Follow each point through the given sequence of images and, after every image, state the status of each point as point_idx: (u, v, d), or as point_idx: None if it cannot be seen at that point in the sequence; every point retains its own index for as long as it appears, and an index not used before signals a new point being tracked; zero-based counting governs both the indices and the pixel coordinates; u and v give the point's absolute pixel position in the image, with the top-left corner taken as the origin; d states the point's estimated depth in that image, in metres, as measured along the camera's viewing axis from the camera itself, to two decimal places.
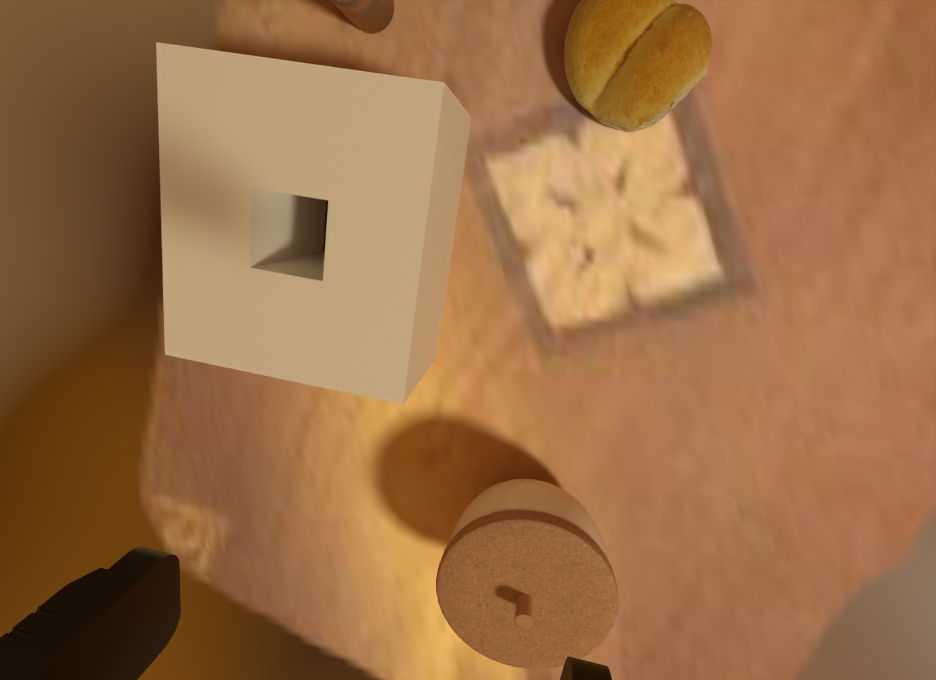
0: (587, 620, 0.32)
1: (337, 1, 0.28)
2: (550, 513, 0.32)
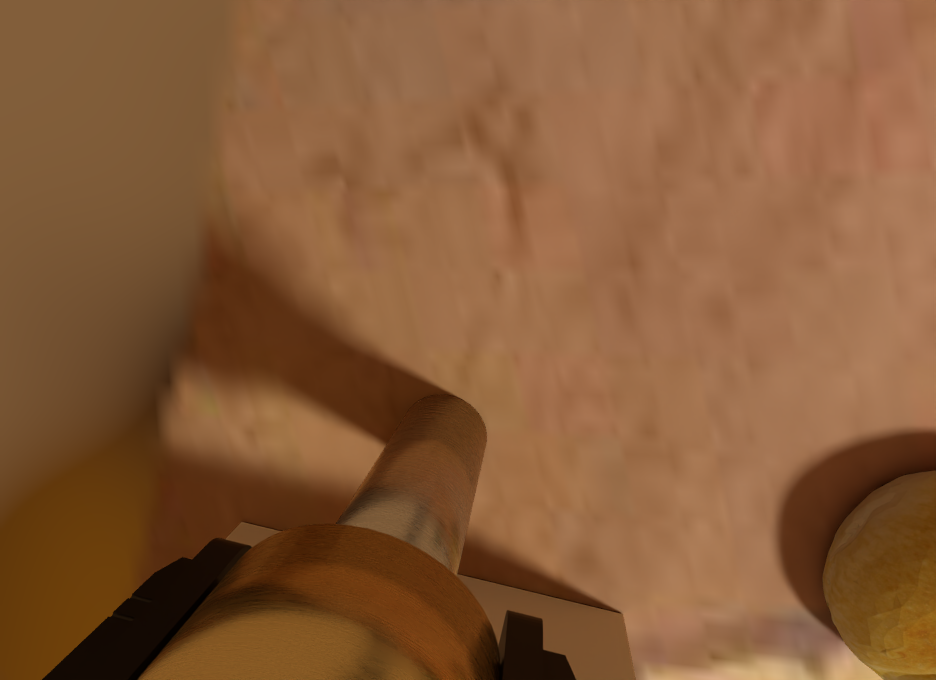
0: None
1: None
2: None
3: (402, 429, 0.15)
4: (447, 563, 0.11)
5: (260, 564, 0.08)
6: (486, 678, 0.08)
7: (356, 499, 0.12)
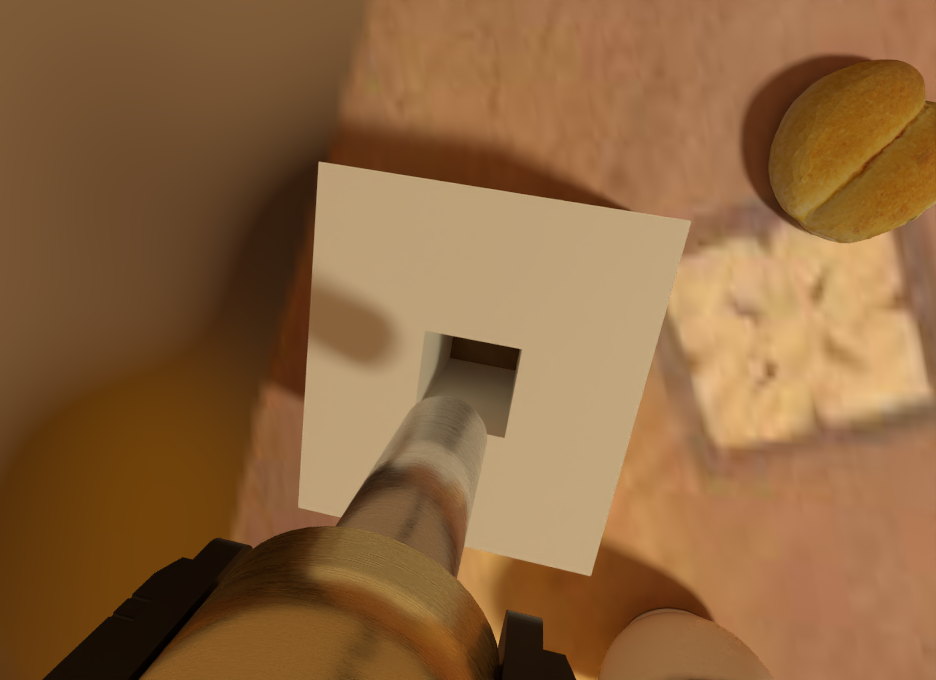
0: None
1: None
2: None
3: (402, 430, 0.15)
4: (447, 565, 0.10)
5: (259, 566, 0.08)
6: None
7: (356, 501, 0.12)
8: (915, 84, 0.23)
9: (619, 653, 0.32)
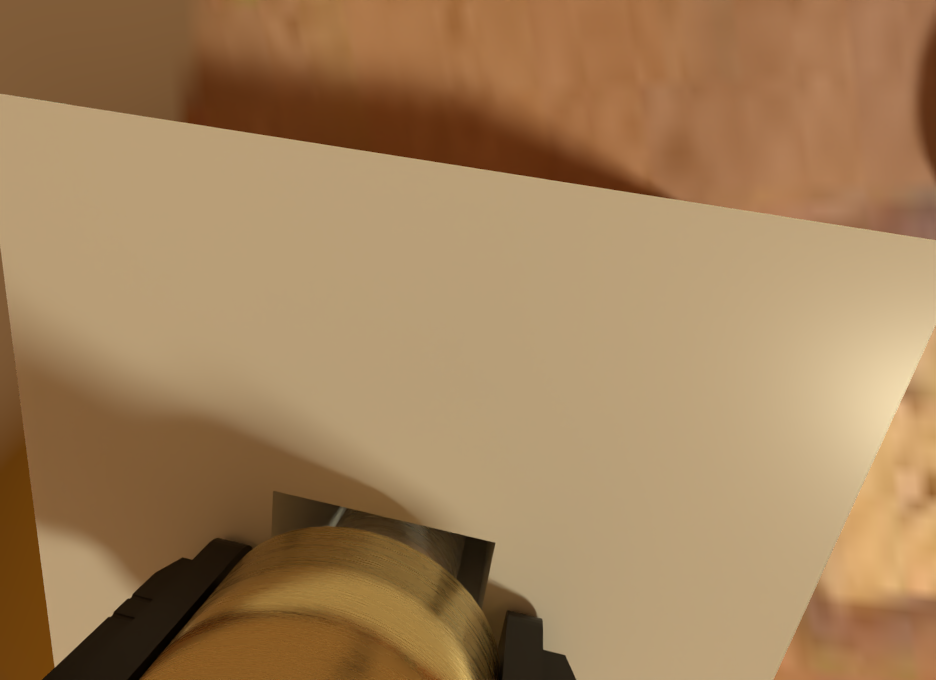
0: None
1: None
2: None
3: None
4: (447, 565, 0.11)
5: (260, 567, 0.08)
6: None
7: None
8: None
9: None
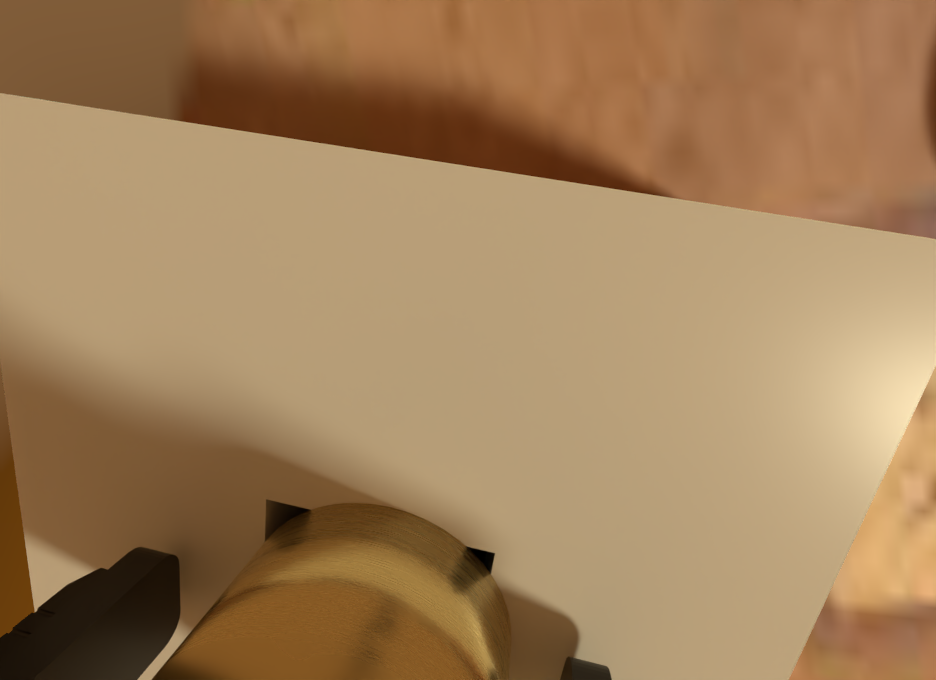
0: None
1: None
2: None
3: None
4: None
5: (292, 538, 0.08)
6: (499, 642, 0.08)
7: None
8: None
9: None
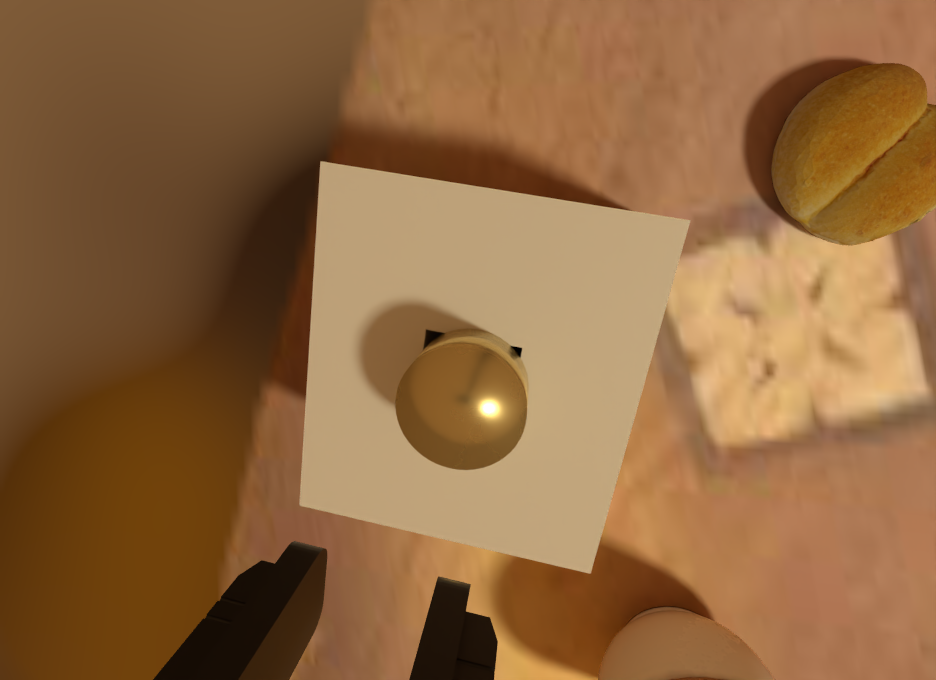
0: None
1: None
2: None
3: None
4: None
5: (443, 337, 0.22)
6: (525, 375, 0.21)
7: None
8: (917, 87, 0.23)
9: (619, 651, 0.32)
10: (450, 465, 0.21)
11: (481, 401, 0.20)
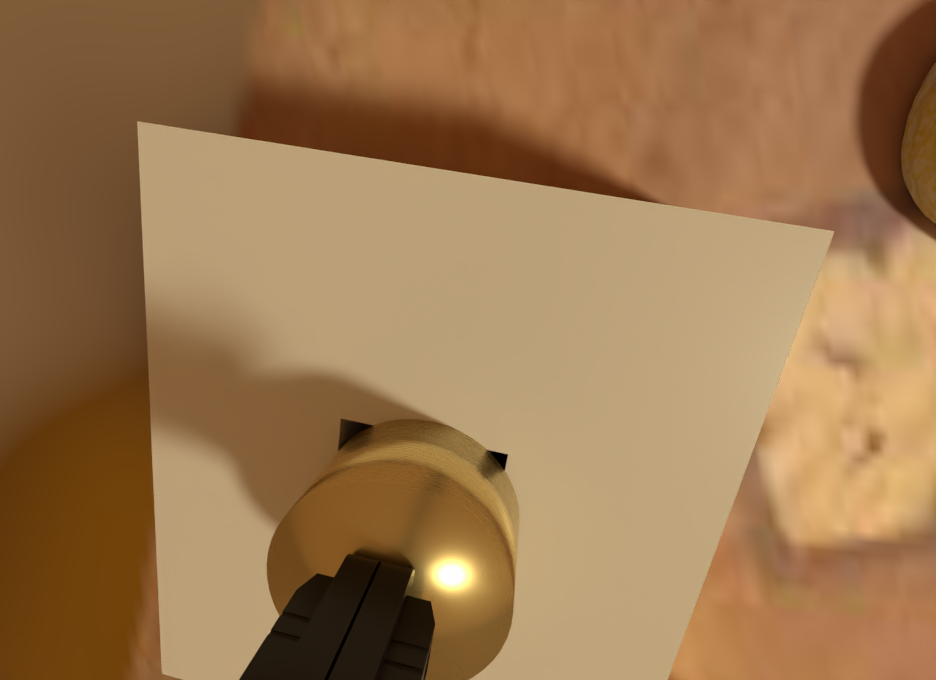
0: None
1: None
2: None
3: None
4: None
5: (365, 439, 0.12)
6: (512, 511, 0.12)
7: None
8: None
9: None
10: None
11: (425, 582, 0.10)
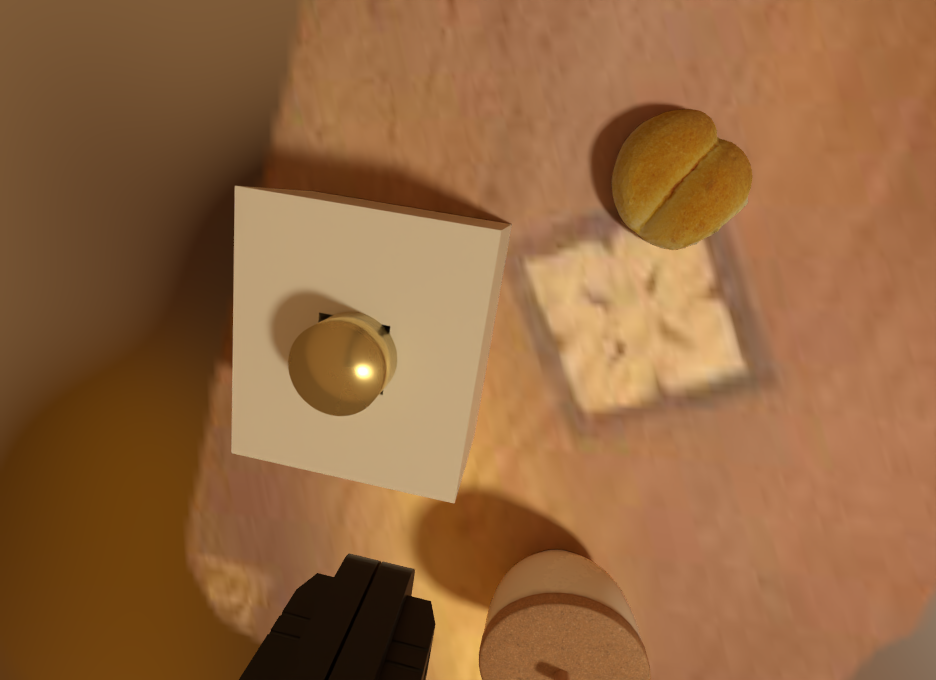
0: None
1: None
2: (586, 596, 0.35)
3: None
4: None
5: None
6: (389, 346, 0.28)
7: None
8: (702, 129, 0.30)
9: (504, 581, 0.39)
10: (330, 412, 0.28)
11: (348, 364, 0.27)
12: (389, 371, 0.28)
